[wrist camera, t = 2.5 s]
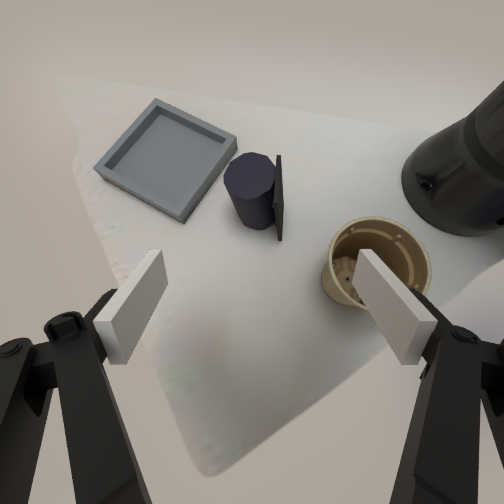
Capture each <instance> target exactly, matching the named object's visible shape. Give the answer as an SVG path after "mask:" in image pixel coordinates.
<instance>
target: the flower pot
mask: <svg viewBox="0 0 504 504" xmlns="http://www.w3.org/2000/svg"><path fill="white" fill-rule="evenodd" d="M360 249H372V251H373V252H374V253H375V254H376V255H377V256H378V257H379V258H380V259H381V260H382V261H383V262H384V263H385V265H386V266H387V267H388V268H389V269H390V270H391V271H392V272H393V273H394V274H395V275H396V276H397V277H398V279H399V280H400V281H401V282H402V283H403V284H404V285H405V286H406V287H407V288H413V289H415V290H417V291H418V292H420V293H421V294H423V295H424V296H425V294H426V293H427V291H428V288H429V285H430V281H431V264H430V260H429V257H428V253H427V252H426V250H425V248H424V246H423V245H422V243H421V241H420V240H419V239H418V238H417V237H416V236H415V234H414V233H412V232H411V231H410V230H409V229H407V228H405V227H404V226H402V225H401V224H399V223H397V222H395V221H392V220H390V219H386V218H381V217H363V218H359V219H355V220H353V221H351V222H349V223H347V224H346V225H345V226H343V227H342V228H341V229H340V230H339V231H338V232H337V233H336V235H335V236H334V238H333V240H332V242H331V244H330V247H329V252H328V262H327V264H326V265H325V267H324V269H323V272H322V283H323V287H324V289H325V291H326V293H327V294H328V295H329V296H330V297H331V298H332V299H333V300H334V301H336V302H338V303H340V304H344V305H350V306H351V305H352V306H357V307H359V308H361V309H363V310H365V311H368V309H367V307H366V306H365V304H364V303H363V301H362V299H361V298H358V296H359V294H358V293H357V291H356V290H355V288H354V286H353V285H352V280H353V276H354V272H355V267H356V266H355V264H356V263H357V259H358V254H359V250H360ZM333 263H335V264H336V266H335V267H334V268H333V265H332V264H333ZM346 278H349V281H346ZM368 312H369V311H368Z"/></svg>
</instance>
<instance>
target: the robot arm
mask: <svg viewBox="0 0 504 504" xmlns="http://www.w3.org/2000/svg"><path fill="white" fill-rule="evenodd" d="M402 184H403V189H404V192H405V194H406V197H407V199H408V201H409V202H410V204H411V205H412V207H413V208H414V209H415V211H416V212H417V213H418V214H419V215H420V216H421V217H422V218H424V219H425V220H426V221H427V222H429V223H430V224H432V225H433V226H435V227H437V228H439V229H441V230H443V231H446V232H449V233H452V234H456V235H461V236H479V235H484V234H487V233H490V232H493V231H495V230H498V229H500V228H503V227H504V81H503V82H502V83H501V84H500V85H499V86H498V87H497V88H496V89H495V90H494V91H493V92H492V93H491V94H490V95H489V96H488V97H487V98H485V100H484V101H483V102H482V103H481V104H480V105H479V106H478V107H477V108H476V109H474V110H473V111H472V112H471V113H470V114H469V115H468V116H467V117H465V118H463V119H462V120H460V121H458V122H456V123H454V124H452V125H451V126H449V127H447V128H445V129H444V130H442V131H440V132H438V133H436V134H435V135H433V136H431V137H430V138H428V139H426V140H425V141H424V142H423V143H421V144H420V145H419V146H418V147H417V149H416V150H415V151H414V152H413V153H412V154H411V155H410V156H409V157H408V159H407V161H406V162H405V165H404V168H403V172H402ZM167 285H168V280H167V275H166V269H165V264H164V259H163V254H162V249H150V250H149V251H148V252H147V254H146V255H145V256H144V257H143V259H142V260H141V261H140V262H139V264H138V265H137V266H136V267H135V269H134V270H133V271H132V272H131V274H130V275H129V276H128V277H127V279H126V280H125V281H124V282H123V284H122V285H121V286H120V287H119V289H111V290H110V291H108V292H107V293H105V294H104V295H103V296H102V297H101V298H100V299H99V300H98V302H97V303H96V304H95V305H94V306H93V308H91V310H90V311H89V312H88V313H87V314H86V315H85V317H84V318H82V315H81V314H80V313H79V312H75V311H73V312H66V313H62V314H60V315H58V316H55V317H54V318H52V319H51V320H49V321H48V322H47V323H46V325H45V326H44V332H45V333H46V335H47V337H48V339H49V342H44V343H40V344H36V345H33V344H32V342H31V340H29V339H28V338H18V339H14V340H11V341H8V342H6V343H4V344H3V345H1V346H0V504H28V500H29V496H30V491H31V487H32V482H33V477H34V473H35V469H36V465H37V460H38V456H39V451H40V447H41V442H42V437H43V433H44V429H45V424H46V420H47V415H48V411H49V406H50V402H51V397H52V393H53V389H54V388H57V387H58V389H59V396H60V403H61V409H62V416H63V422H64V428H65V434H66V441H67V447H68V454H69V460H70V467H71V473H72V479H73V485H74V492H75V499H76V504H152V502H151V499H150V496H149V493H148V490H147V488H146V485H145V482H144V479H143V476H142V473H141V471H140V468H139V465H138V462H137V460H136V456H135V454H134V451H133V448H132V445H131V442H130V440H129V437H128V434H127V431H126V428H125V426H124V423H123V420H122V417H121V414H120V412H119V409H118V406H117V403H116V400H115V397H114V395H113V392H112V389H111V386H110V383H109V380H108V378H107V375H106V372H105V370H104V367H103V364H102V363H103V362H104V360H105V358H106V357H107V358H108V360H109V363H110V364H127V362H128V360H129V358H130V356H131V354H132V353H133V351H134V348H135V347H136V345H137V343H138V341H139V339H140V337H141V335H142V333H143V331H144V329H145V327H146V325H147V324H148V322H149V320H150V318H151V316H152V314H153V312H154V310H155V308H156V306H157V304H158V302H159V300H160V298H161V296H162V295H163V293H164V291H165V289H166V287H167ZM352 285H353V286H354V288H355V290H356V291H357V293H358V294H359V296H360V298H361V299H362V301H363V303H364V304H365V306H366V307H367V309H368V311H369V312H370V314H371V316H372V317H373V319H374V321H375V322H376V324H377V325H378V327H379V329H380V330H381V332H382V334H383V335H384V337H385V338H386V340H387V342H388V343H389V345H390V347H391V348H392V350H393V352H394V353H395V355H396V356H397V358H398V360H399V361H400V363H401V365H406V364H407V365H410V364H411V365H417V364H418V363H419V361H420V358H421V356H423V358H424V359H425V360H426V362H427V364H426V366H425V368H424V370H423V372H422V374H421V376H420V379H421V384H420V388H419V392H418V395H417V399H416V403H415V407H414V411H413V415H412V418H411V422H410V426H409V430H408V434H407V438H406V442H405V445H404V450H403V453H402V457H401V461H400V465H399V469H398V472H397V476H396V480H395V484H394V488H393V492H392V496H391V499H390V503H389V504H478V469H479V436H480V401H481V400H482V403H483V406H484V409H485V412H486V415H487V419H488V422H489V425H490V428H491V431H492V434H493V437H494V440H495V443H496V447H497V450H498V453H499V456H500V459H501V462H502V465H503V468H504V339H503V340H502V342H501V343H500V345H499V344H495V343H490V342H485V341H481V340H480V339H479V338H478V336H477V335H475V334H474V333H473V332H471V331H469V330H467V329H465V328H463V327H460V326H454V325H452V324H451V323H450V322H449V321H448V320H447V319H446V318H445V317H444V315H443V314H442V313H441V312H440V311H439V310H438V309H437V308H436V307H434V305H433V304H432V303H431V302H429V300H428V299H427V298H426V297H425V296H424V295H423V294H421V293H420V292H418V291H417V290H415V289H413V288H407V287H406V286H405V285H404V284H403V283H402V282H401V281H400V280H399V279H398V277H397V276H396V275H395V274H394V273H393V272H392V271H391V270H390V269H389V268H388V267H387V266H386V265H385V263H384V262H383V261H382V260H381V259H380V258H379V257H378V256H377V255H376V254H375V253H374V252H373V251H372V249H360V250H359V254H358V259H357V263H356V267H355V272H354V276H353V280H352ZM480 399H481V400H480Z"/></svg>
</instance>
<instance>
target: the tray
mask: <svg viewBox="0 0 504 504" xmlns="http://www.w3.org/2000/svg"><path fill="white" fill-rule="evenodd" d="M236 150H237V138H236V136H234V135H232V134H230V133H228V132H226V131H223V130H221V129H219V128H217V127H215V126H213V125H211V124H209V123H207V122H205V121H203V120H201V119H198V118H196V117H194V116H192V115H190V114H188V113H186V112H184V111H182V110H180V109H178V108H176V107H173V106H171V105H169V104H167V103H165V102H163V101H161V100H159V99H157V98H155V99H154V100H153V101H152V102H151V103H150V105H149V106H148V107H147V108H146V109H145V110H144V111H143V112H142V113H141V115H140V116H139V117H138V118H137V119H136V120H135V121H134V122H133V124H132V125H131V126H130V127H129V128H128V129H127V130H126V131H125V132H124V134H123V135H122V136H121V137H120V138H119V139H118V140H117V141H116V143H115V144H114V145H113V146H112V147H111V148H110V149H109V150H108V151H107V153H106V154H105V155H104V156H103V157H102V158H101V159H100V160H99V162H98V163H97V164H96V165H95V166H94V167H93V169H94V170H95V171H96V172H97V173H98V174H99V175H100V176H101V177H102V178H103V179H105V180H106V181H108V182H110V183H112V184H114V185H115V186H117V187H119V188H121V189H122V190H124V191H126V192H128V193H130V194H131V195H133V196H135V197H137V198H138V199H140V200H142V201H144V202H146V203H147V204H149V205H151V206H153V207H154V208H156V209H158V210H160V211H162V212H163V213H165V214H167V215H169V216H170V217H172V218H174V219H176V220H178V221H179V222H181V223H183V224H184V223H185V222H186V220H187V219H188V218H189V216H190V215H191V213H192V212H193V211H194V209H195V208H196V206H197V205H198V204H199V202H200V201H201V199H202V198H203V197H204V195H205V194H206V192H207V191H208V190H209V188H210V187H211V185H212V184H213V183H214V181H215V180H216V178H217V177H218V176H219V174H220V173H221V171H222V170H223V169H224V167H225V166H226V164H227V163H228V162H229V160H230V159H231V157H232V156H233V155H234V153H235V152H236Z"/></svg>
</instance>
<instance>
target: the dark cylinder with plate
mask: <svg viewBox="0 0 504 504" xmlns="http://www.w3.org/2000/svg"><path fill="white" fill-rule="evenodd" d="M224 184H225V186H226V189H227V191H228V193H229V195H230V197H231V200H232V202H233V204H234V206H235V209H236V211H237V213H238V215H239V217H240V218H241V220H242V222H243V223H244V225H245V226H248V227H251V228H254V229H257V230H258V229H264V228H266V227H267V226H269V225H271V224H272V223H274V222H275V221H276V225H277V232H278V239H279V241H282V228H283V210H284V201H283V184H282V167H281V155H277V158H276V167H275V165H274V164H273V163H272V162H271V160H270V159H269V158H268V156H265V155H261V154H258V153H254V152H250V153H244V154H242V155H241V156H239V157H238V158H236V159H234V160H233V161H231V162H230V164H229V166H228V168H227V170H226V172H225V174H224Z"/></svg>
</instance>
